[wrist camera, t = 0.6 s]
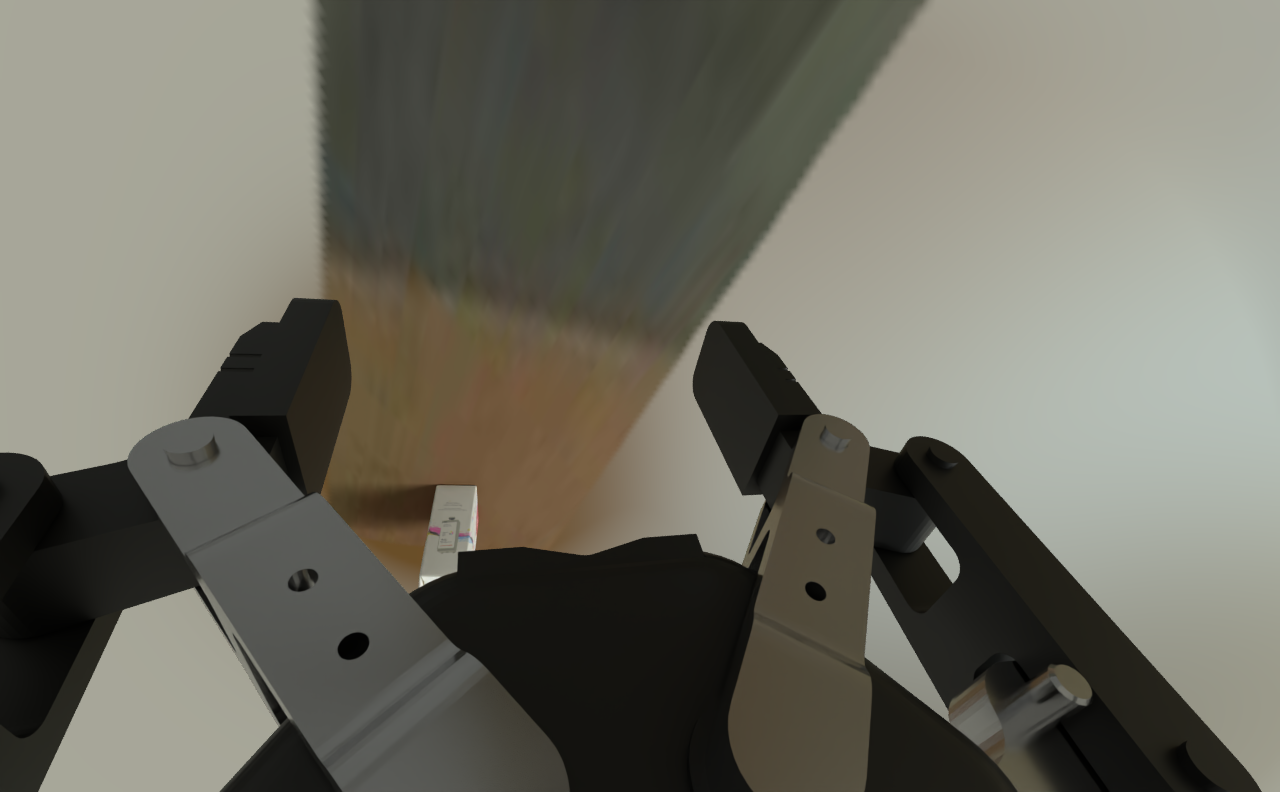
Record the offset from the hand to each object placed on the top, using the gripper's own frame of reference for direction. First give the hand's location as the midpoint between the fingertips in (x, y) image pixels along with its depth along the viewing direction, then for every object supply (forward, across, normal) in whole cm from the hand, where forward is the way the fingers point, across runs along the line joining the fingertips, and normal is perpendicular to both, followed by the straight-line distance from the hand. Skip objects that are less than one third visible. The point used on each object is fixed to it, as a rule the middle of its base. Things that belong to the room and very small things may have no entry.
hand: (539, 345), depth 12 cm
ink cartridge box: (+38, +3, +48) cm, 61 cm away
